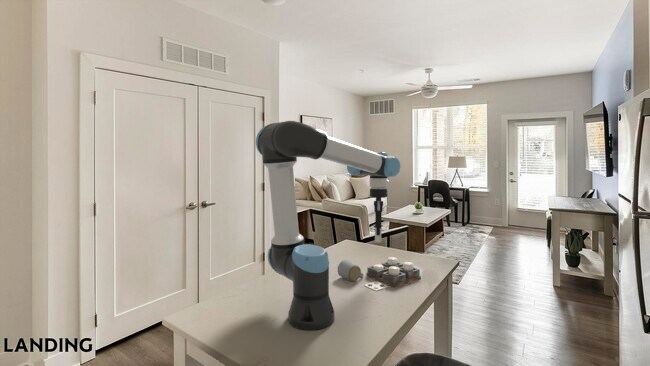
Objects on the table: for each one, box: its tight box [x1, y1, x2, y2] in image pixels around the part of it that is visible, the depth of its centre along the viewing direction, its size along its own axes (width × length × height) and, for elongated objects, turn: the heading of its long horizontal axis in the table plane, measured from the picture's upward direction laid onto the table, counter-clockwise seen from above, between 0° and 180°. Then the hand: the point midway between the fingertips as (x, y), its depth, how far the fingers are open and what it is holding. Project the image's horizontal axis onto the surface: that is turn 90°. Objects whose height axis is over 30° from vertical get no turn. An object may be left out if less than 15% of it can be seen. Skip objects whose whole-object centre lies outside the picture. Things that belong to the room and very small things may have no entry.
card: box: [363, 280, 389, 292], centre depth 136 cm, size 7×7×1 cm
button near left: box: [372, 263, 384, 271], centre depth 146 cm, size 4×4×3 cm
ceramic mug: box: [337, 259, 364, 282], centre depth 144 cm, size 11×8×8 cm
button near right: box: [389, 266, 400, 277], centre depth 139 cm, size 4×4×3 cm
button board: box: [366, 261, 422, 289], centre depth 145 cm, size 16×17×4 cm
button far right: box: [402, 261, 414, 272], centre depth 144 cm, size 4×4×3 cm
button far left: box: [386, 256, 398, 266], centre depth 151 cm, size 4×4×3 cm
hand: (378, 241), depth 145 cm, fingers closed
